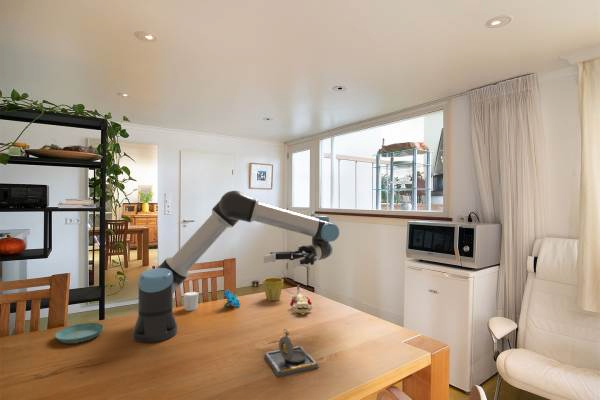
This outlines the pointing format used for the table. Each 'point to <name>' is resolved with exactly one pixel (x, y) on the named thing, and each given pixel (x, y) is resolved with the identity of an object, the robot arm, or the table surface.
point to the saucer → (85, 332)
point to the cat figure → (300, 303)
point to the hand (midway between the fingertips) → (278, 261)
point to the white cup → (191, 300)
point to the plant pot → (273, 288)
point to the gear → (231, 299)
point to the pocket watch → (290, 350)
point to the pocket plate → (289, 363)
